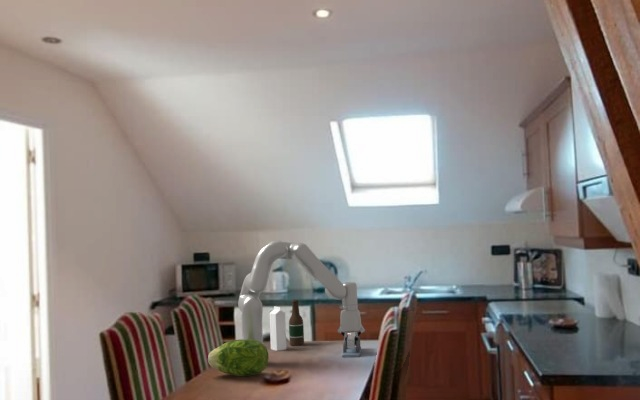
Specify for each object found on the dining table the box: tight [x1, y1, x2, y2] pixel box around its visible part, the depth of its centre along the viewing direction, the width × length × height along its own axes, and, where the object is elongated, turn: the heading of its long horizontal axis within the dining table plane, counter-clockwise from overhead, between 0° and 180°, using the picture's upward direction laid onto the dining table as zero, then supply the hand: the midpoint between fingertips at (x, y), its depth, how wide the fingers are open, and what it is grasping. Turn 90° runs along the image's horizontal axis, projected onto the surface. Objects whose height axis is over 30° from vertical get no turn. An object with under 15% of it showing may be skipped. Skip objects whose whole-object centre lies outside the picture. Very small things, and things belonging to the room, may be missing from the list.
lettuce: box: [207, 338, 269, 377], centre depth 252 cm, size 15×27×16 cm, turn 81°
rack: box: [342, 336, 362, 358], centre depth 288 cm, size 18×8×7 cm, turn 173°
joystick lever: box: [347, 331, 356, 348], centre depth 291 cm, size 17×5×4 cm, turn 173°
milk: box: [269, 306, 288, 352], centre depth 305 cm, size 6×6×22 cm
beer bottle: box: [288, 299, 305, 347], centre depth 315 cm, size 8×8×24 cm
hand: (351, 344), depth 288 cm, fingers closed on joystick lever, 3 cm apart
